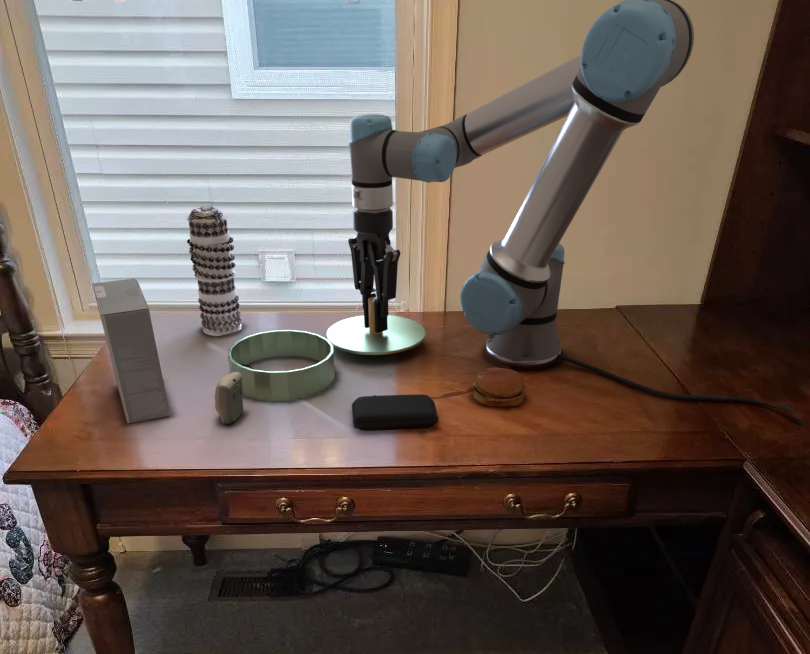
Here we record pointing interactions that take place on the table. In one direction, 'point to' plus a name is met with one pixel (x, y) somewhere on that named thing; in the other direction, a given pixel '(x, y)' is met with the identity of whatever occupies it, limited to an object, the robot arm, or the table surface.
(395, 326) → the pot lid
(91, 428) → the table surface
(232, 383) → the beige rounded block
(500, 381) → the burger
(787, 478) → the table surface
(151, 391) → the hard drive box
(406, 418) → the carrying case
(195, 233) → the white patterned cylinder
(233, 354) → the pot
